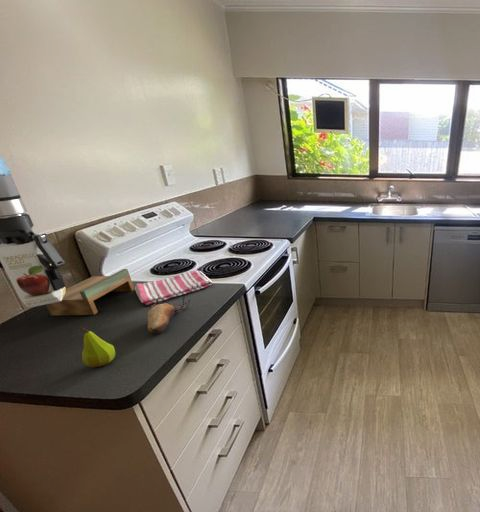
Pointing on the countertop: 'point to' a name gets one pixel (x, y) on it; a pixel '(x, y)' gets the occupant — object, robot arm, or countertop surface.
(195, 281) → the dish towel
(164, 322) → the vegetable
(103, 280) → the shelf
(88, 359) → the fruit
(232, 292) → the countertop surface
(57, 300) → the juice carton
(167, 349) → the countertop surface
